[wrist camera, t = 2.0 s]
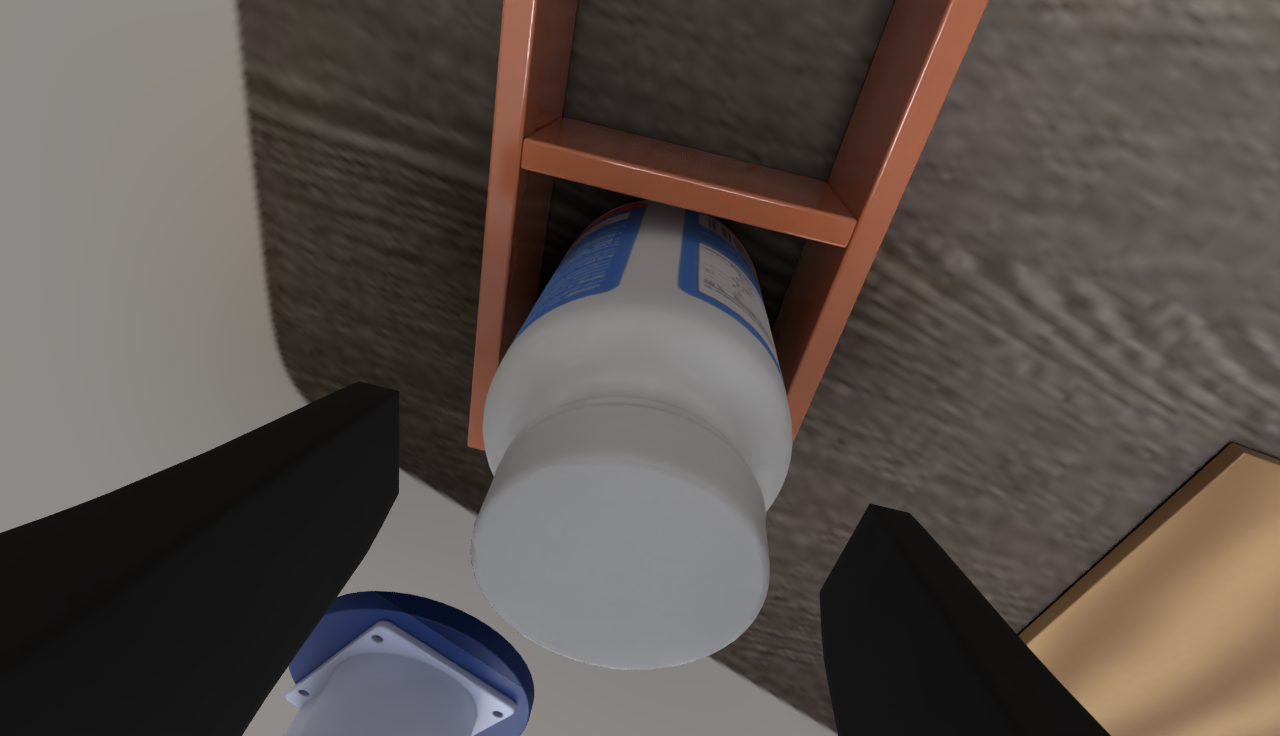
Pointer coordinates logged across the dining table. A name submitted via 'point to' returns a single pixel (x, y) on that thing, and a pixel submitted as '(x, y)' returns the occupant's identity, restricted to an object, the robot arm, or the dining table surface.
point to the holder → (709, 180)
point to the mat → (1181, 613)
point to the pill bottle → (636, 447)
